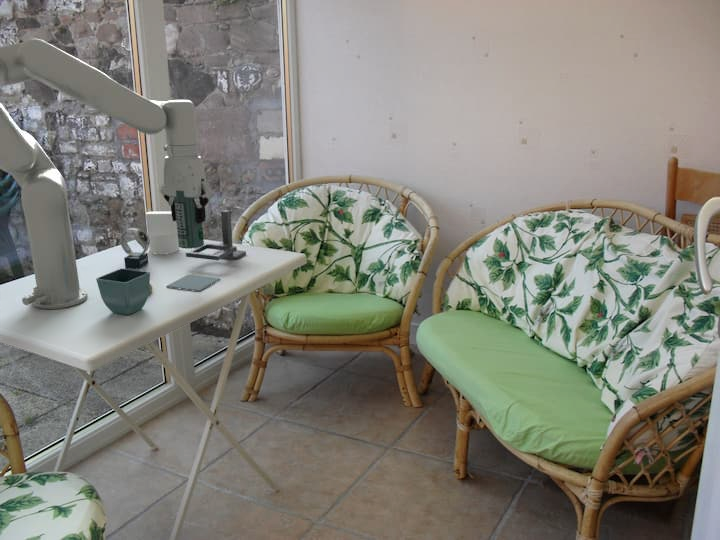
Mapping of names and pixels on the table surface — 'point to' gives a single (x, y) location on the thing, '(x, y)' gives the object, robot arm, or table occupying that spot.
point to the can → (187, 222)
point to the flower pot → (124, 290)
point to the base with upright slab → (162, 232)
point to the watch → (135, 258)
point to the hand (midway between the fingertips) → (189, 220)
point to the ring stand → (224, 248)
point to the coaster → (193, 282)
